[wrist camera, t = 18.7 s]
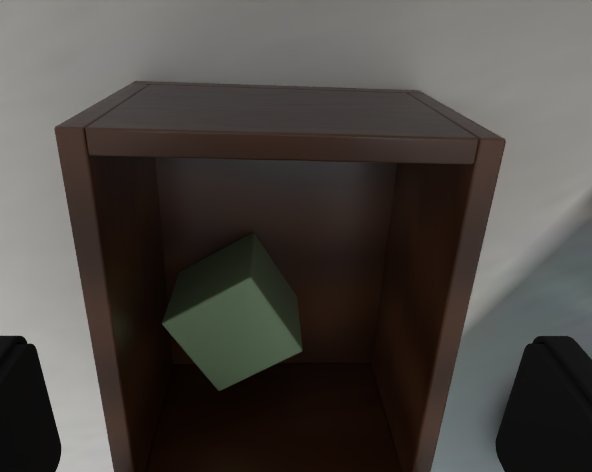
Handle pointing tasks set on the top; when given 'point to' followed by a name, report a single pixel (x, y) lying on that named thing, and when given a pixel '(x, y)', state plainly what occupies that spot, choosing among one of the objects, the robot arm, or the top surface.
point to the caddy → (280, 266)
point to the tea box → (234, 313)
